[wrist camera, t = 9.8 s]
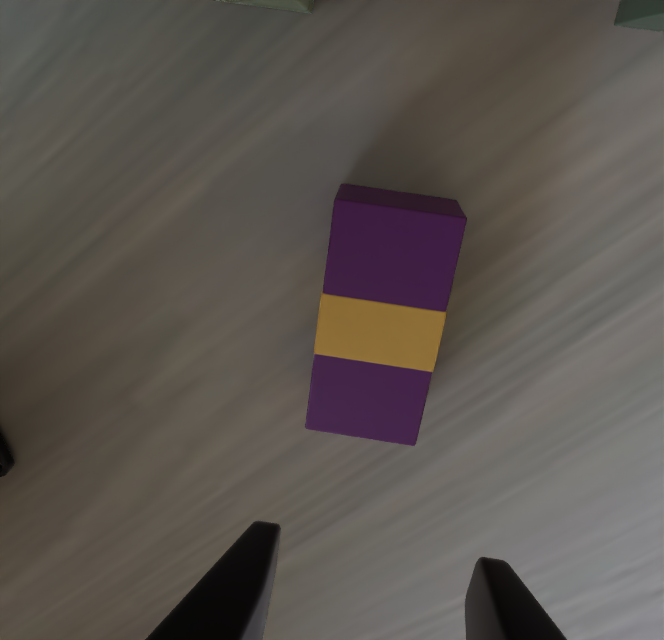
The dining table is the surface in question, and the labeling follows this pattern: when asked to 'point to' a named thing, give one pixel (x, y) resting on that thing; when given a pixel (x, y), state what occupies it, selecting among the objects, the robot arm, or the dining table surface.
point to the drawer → (641, 14)
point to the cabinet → (278, 4)
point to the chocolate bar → (382, 311)
